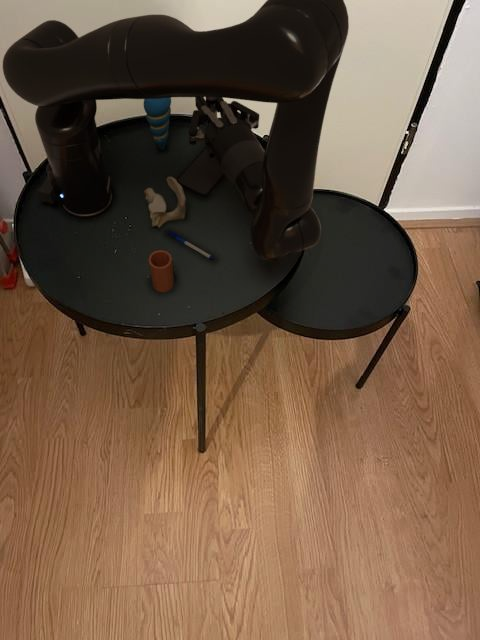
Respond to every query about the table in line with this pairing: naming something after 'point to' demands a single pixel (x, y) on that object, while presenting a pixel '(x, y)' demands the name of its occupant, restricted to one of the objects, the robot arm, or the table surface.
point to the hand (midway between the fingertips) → (205, 96)
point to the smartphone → (202, 175)
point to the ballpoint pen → (189, 244)
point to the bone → (159, 205)
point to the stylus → (213, 107)
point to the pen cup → (161, 271)
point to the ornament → (158, 119)
